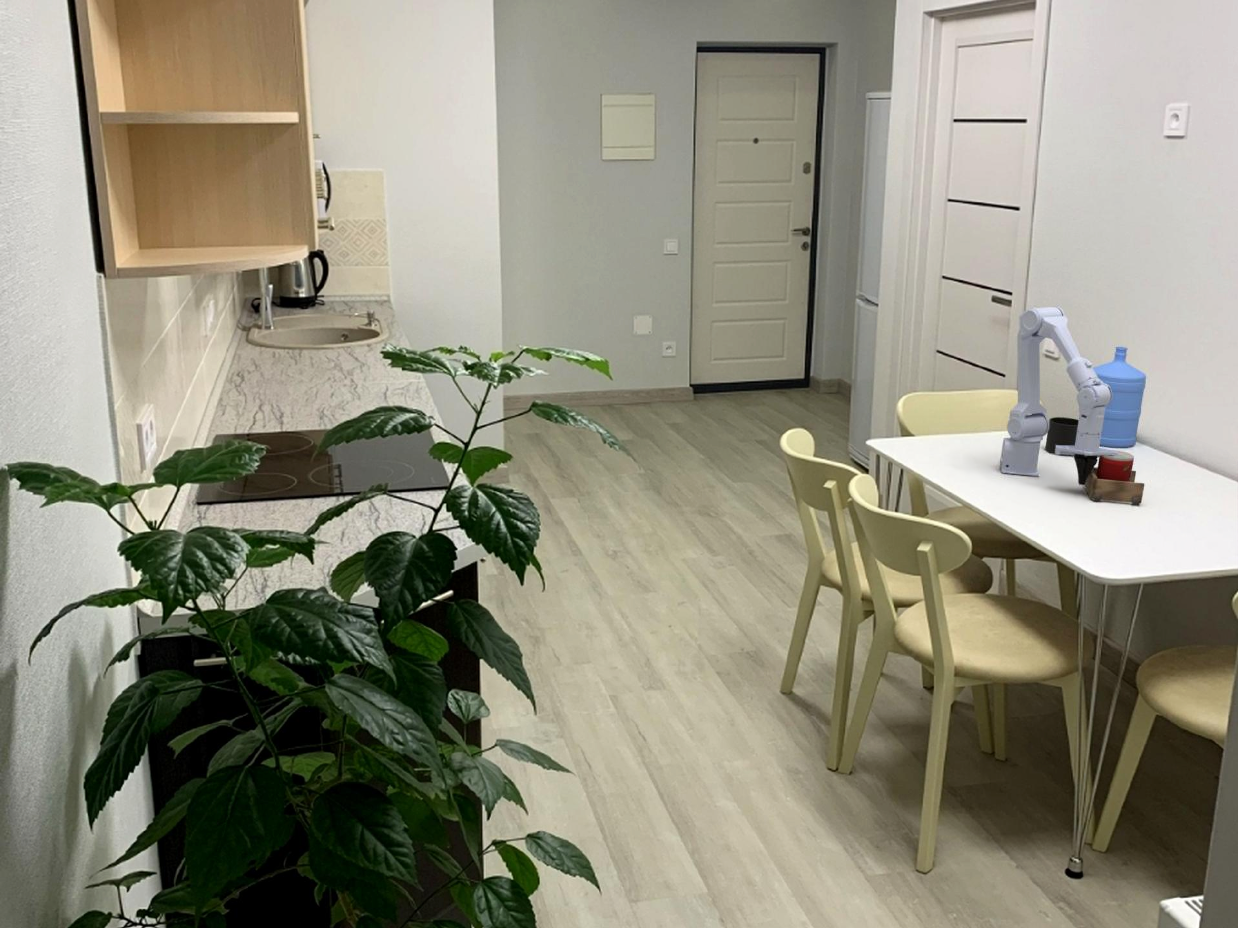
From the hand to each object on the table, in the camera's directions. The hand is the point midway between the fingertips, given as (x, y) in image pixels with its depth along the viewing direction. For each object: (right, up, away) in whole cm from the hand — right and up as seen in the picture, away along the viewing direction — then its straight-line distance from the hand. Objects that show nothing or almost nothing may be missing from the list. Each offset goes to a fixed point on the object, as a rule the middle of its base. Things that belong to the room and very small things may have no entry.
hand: (1081, 483), depth 301 cm
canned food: (+7, -3, -1) cm, 8 cm away
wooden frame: (+7, -3, -1) cm, 8 cm away
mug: (+9, +9, +39) cm, 41 cm away
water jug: (+27, +12, +51) cm, 59 cm away
